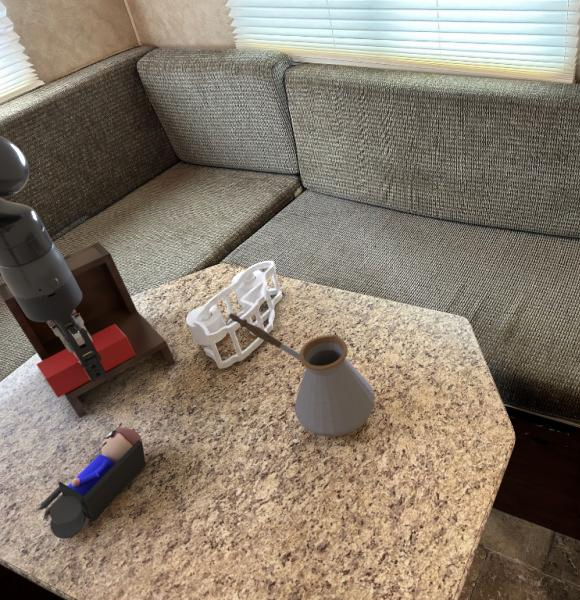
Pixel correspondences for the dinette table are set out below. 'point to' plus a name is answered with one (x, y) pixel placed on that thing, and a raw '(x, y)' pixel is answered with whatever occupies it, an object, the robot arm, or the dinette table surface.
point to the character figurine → (96, 483)
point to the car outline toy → (251, 296)
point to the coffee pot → (325, 384)
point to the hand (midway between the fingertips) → (89, 364)
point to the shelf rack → (94, 315)
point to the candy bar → (65, 366)
